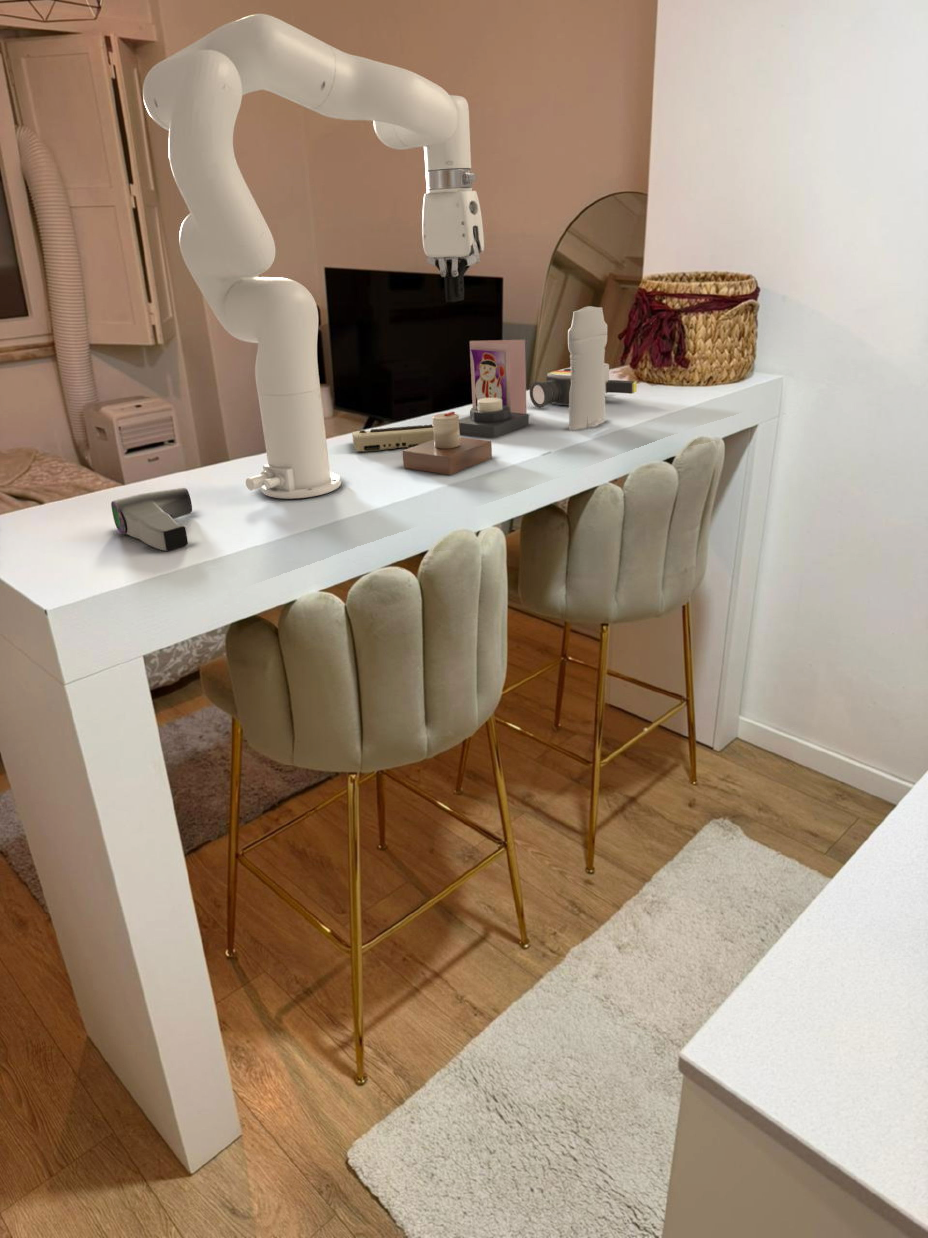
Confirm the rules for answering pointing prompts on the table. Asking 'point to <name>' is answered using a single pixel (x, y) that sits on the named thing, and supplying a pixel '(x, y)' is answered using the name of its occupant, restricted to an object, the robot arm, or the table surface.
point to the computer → (392, 437)
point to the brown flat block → (447, 456)
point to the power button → (489, 404)
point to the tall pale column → (587, 368)
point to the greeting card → (499, 372)
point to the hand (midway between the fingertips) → (454, 300)
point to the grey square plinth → (492, 422)
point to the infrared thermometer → (154, 517)
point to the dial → (446, 430)
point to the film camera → (560, 385)
